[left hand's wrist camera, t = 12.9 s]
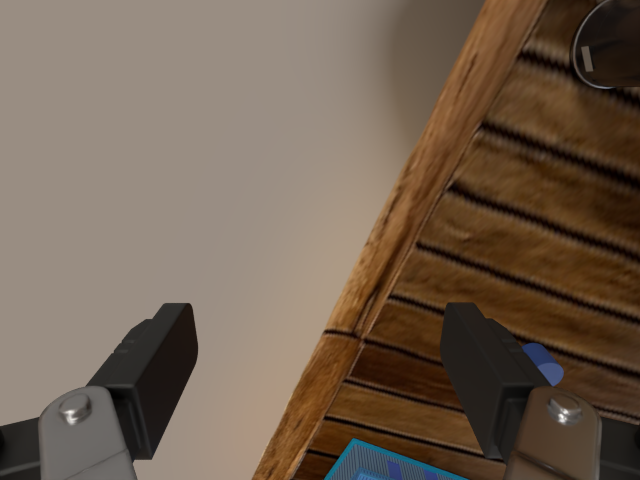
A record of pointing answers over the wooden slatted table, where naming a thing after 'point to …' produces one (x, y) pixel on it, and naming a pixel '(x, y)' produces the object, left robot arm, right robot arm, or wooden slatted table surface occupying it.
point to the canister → (544, 362)
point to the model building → (382, 465)
